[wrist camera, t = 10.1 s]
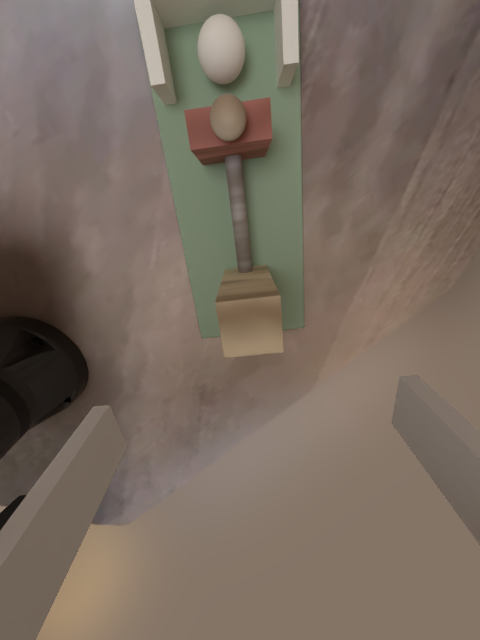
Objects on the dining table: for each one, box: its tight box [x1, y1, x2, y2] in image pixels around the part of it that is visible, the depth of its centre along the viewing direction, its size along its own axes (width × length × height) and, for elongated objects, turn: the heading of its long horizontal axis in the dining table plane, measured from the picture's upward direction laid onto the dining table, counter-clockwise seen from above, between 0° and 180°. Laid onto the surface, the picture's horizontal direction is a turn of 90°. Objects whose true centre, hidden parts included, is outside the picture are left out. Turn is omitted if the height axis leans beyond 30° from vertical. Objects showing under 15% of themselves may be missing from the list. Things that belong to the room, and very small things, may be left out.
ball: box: [197, 14, 245, 84], centre depth 21 cm, size 4×4×4 cm
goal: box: [134, 0, 299, 105], centre depth 20 cm, size 6×12×4 cm, turn 97°
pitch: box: [136, 0, 304, 338], centre depth 27 cm, size 32×14×1 cm, turn 7°
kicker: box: [184, 94, 284, 358], centre depth 23 cm, size 18×6×12 cm, turn 7°
